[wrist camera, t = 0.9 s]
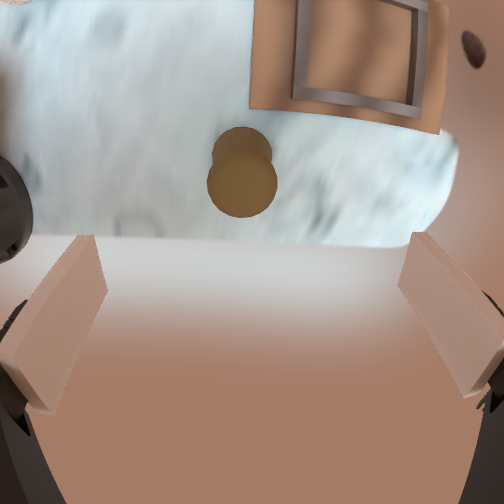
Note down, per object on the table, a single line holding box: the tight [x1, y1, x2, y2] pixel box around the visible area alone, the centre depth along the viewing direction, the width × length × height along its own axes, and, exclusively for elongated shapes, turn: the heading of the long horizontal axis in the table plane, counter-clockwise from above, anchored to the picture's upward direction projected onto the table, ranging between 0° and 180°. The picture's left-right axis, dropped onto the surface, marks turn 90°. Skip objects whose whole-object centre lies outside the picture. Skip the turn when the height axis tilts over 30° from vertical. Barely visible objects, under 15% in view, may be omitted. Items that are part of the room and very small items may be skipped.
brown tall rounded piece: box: [207, 127, 277, 218], centre depth 27 cm, size 6×6×11 cm
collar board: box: [249, 0, 449, 135], centre depth 24 cm, size 21×16×2 cm
